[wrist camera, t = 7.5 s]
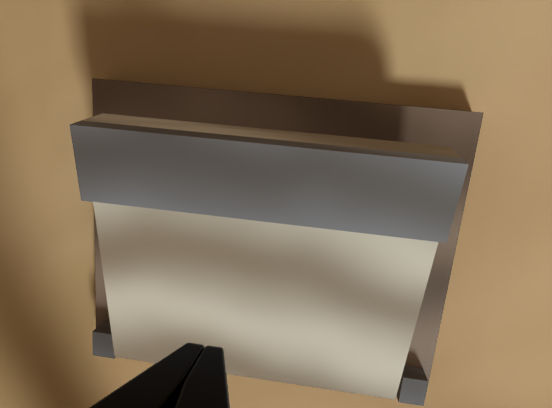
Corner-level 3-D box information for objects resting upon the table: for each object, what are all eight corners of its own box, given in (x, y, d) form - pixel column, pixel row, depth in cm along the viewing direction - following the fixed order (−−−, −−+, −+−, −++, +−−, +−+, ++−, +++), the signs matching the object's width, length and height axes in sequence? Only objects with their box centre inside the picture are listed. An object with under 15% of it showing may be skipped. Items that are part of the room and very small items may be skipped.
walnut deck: (419, 382, 21) (430, 412, 19) (107, 336, 23) (86, 359, 21) (472, 113, 18) (493, 112, 16) (105, 80, 20) (79, 76, 17)
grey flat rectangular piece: (390, 374, 20) (397, 413, 18) (128, 335, 21) (106, 368, 19) (449, 146, 15) (468, 164, 13) (102, 113, 16) (69, 124, 14)
